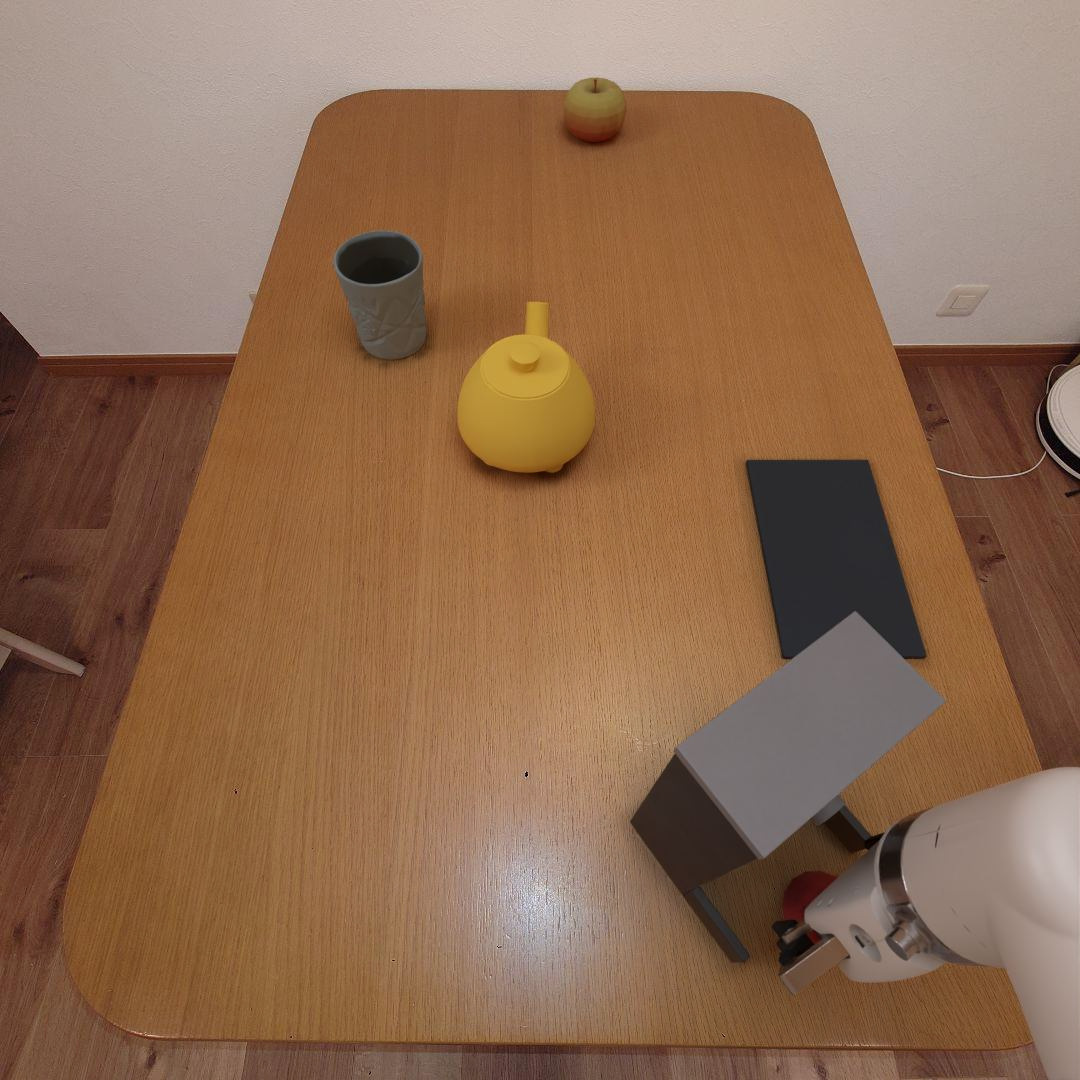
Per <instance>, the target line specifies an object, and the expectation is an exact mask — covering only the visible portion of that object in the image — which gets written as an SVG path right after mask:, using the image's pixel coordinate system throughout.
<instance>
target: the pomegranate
mask: <svg viewBox="0 0 1080 1080" xmlns="http://www.w3.org/2000/svg"><path fill="white" fill-rule="evenodd" d="M838 877H839V876H837V875H834V874H832V873H829V872H826V871H823V870H810V871H803V872H801V873H800V874H798V875H796V876H794V877H792V878H791V880H790V882H789V883H788V885H787V886H786V888H785V890H784V891H783V894H782V899H781V904H780V906H781V913H782V919H783V920H793V919H794V920H796V921H797V922H798V923H799V922H801V921H802V920H804V914H805V909H806V908H807V907H808V906H809V904H810V903H811V902H812V901H813V900H814V899H815V898H816V897H818V896H819V895H820V894H821V893H822V892H823V891H824V890H825V889H826V888H827V887H828V886H829V885H830V884H831V883H833V882H834V881H835V880H836V879H837V878H838ZM807 935H808V936H809V938H810V939H811V940H812V942H813V943H814V944H816V943H818V942H819V941H820V940H821V939H820V938H819V936H818V935H817V934H816V932H815V931H814V930H812V931H810V932H809V933H807Z"/></svg>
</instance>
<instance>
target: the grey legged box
mask: <svg viewBox="0 0 1080 1080" xmlns="http://www.w3.org/2000/svg"><path fill="white" fill-rule="evenodd" d="M946 703H947V700H946V699H945V697H943V696H942V694H941V693H939V692H938V690H936V689H935V688H934V687H933V686H932V684H931V683H930V682H928V681H927V680H926V678H924V677H923V676H922V675H921V673H919V672H918V671H917V670H916V669H915V668H914V667H913V666H912V665H911V664H910V663H909V662H908V661H907V659H906V658H903V657H902V656H901V655H900V654H899V653H898V652H897V651H896V650H895V649H894V648H893V647H892V646H891V645H890V644H889V643H888V642H887V641H885V640H884V639H883V638H882V637H881V636H880V635H879V634H878V633H877V632H876V631H875V630H874V629H873V628H872V627H871V626H870V625H869V624H868V623H867V622H866V621H865V620H864V619H863V618H862V617H861V616H860V615H859V614H858V613H857V612H856V611H855V612H853V613H852V614H851V615H849V616H848V617H847V618H845V619H844V620H843V621H841V622H840V623H839V624H837V625H836V626H835V627H833V628H832V629H831V630H829V631H828V632H827V633H826V634H824V635H823V636H822V637H820V638H819V639H818V640H816V641H815V642H814V643H812V644H811V645H810V646H808V647H807V648H806V649H804V650H803V651H802V652H800V653H799V654H798V655H796V656H795V657H794V658H793V659H789V660H788V662H786V663H784V664H783V665H782V666H781V667H779V668H778V669H777V670H775V671H773V673H771V674H770V675H769V676H768V677H766V678H765V679H763V680H762V681H761V682H759V683H758V684H757V685H755V686H754V687H753V688H752V689H751V690H749V691H748V692H746V693H745V694H743V695H742V696H741V697H740V698H738V699H737V700H736V701H734V702H733V703H731V704H730V705H729V706H728V707H727V708H725V709H724V710H723V711H721V712H720V713H718V714H717V715H716V716H715V717H713V718H712V719H711V720H709V721H707V723H706V724H704V725H703V726H701V727H700V728H698V729H697V730H696V731H694V732H693V733H692V734H691V735H690V736H688V737H687V738H686V739H684V740H683V741H682V742H680V743H678V745H676V747H675V748H674V749H673V753H674V754H673V756H672V757H671V759H670V760H669V761H668V763H667V764H666V765H665V767H664V769H663V770H662V771H661V773H660V775H659V777H658V778H657V780H656V781H655V782H654V783H653V785H652V787H651V789H650V790H649V791H648V793H647V794H646V796H645V798H644V799H643V800H642V802H641V804H640V805H639V807H638V809H637V810H636V812H635V813H634V815H633V816H632V817H631V819H630V820H629V824H630V825H631V826H632V827H633V829H634V830H635V832H636V833H637V835H638V836H639V837H640V839H641V840H642V841H643V843H644V844H645V846H646V847H647V848H648V850H649V851H650V853H651V854H652V855H653V856H654V858H655V860H656V861H657V862H658V863H659V865H660V866H661V868H662V869H663V870H664V872H665V873H666V875H667V876H668V878H669V879H670V880H671V882H672V883H673V884H674V886H675V887H676V888H677V890H678V892H679V893H680V894H681V895H682V897H683V898H684V899H685V901H686V902H687V904H688V905H689V907H690V908H691V909H692V911H693V912H694V913H695V915H696V916H697V917H698V919H699V920H700V921H701V923H702V925H703V926H704V927H705V929H706V930H707V931H708V933H709V934H710V936H711V937H712V938H713V940H714V941H715V943H716V944H717V945H718V947H719V948H720V950H721V951H722V952H723V954H724V955H725V957H726V958H727V959H728V960H729V962H730V963H731V964H732V963H733V964H735V963H736V964H737V963H740V964H741V963H743V964H744V963H746V962H747V961H748V960H749V959H750V958H751V954H750V952H749V951H748V950H747V948H746V947H745V946H744V944H743V943H742V941H741V939H739V938H738V936H737V935H736V933H735V932H734V931H733V929H732V928H731V926H730V925H729V923H727V921H726V920H725V919H724V917H723V915H722V914H721V913H720V912H719V910H718V909H717V908H716V906H715V905H714V903H713V902H712V901H711V900H710V898H709V896H708V895H707V893H705V891H704V890H703V889H702V887H701V886H703V885H705V884H707V883H709V882H711V881H713V880H716V879H718V878H720V877H722V876H724V875H727V874H729V873H731V872H732V871H735V870H736V869H739V868H741V867H743V866H745V865H748V864H749V863H751V862H754V861H756V860H759V861H762V860H764V859H766V858H767V857H768V856H769V855H770V854H771V853H773V852H774V851H775V850H776V849H777V848H778V847H779V846H781V845H782V844H783V843H785V841H787V840H788V839H789V838H790V837H792V836H793V835H794V834H795V833H796V832H798V830H800V829H801V828H802V827H803V826H804V825H806V823H807V822H808V821H810V820H811V822H812V823H813V824H814V825H815V826H816V827H819V826H821V825H822V824H824V823H825V824H826V825H827V826H828V828H829V829H830V830H831V831H832V832H833V833H834V834H835V836H836V837H837V838H838V839H839V840H840V842H841V843H842V844H843V845H844V846H845V847H846V849H847V850H848V851H849V852H850V853H851V854H855V853H858V852H861V851H864V850H867V849H866V848H865V846H864V844H865V843H864V841H866V840H867V839H868V838H869V837H871V836H873V835H872V834H871V833H870V832H869V831H868V830H867V828H866V827H865V826H864V825H863V824H862V823H861V821H859V819H858V818H857V817H856V816H855V815H854V814H853V812H852V811H851V810H850V809H849V808H848V807H847V806H846V801H845V800H844V799H843V797H841V795H840V794H841V793H842V792H843V791H845V790H846V789H847V788H848V787H849V786H850V785H852V784H853V783H854V782H855V781H856V780H857V779H859V778H860V777H861V776H862V775H863V774H864V773H865V772H867V771H868V770H870V768H872V766H874V765H875V764H876V763H877V762H878V761H879V760H881V759H882V758H883V757H884V756H885V755H886V754H888V753H889V752H890V751H891V750H892V749H893V748H895V747H896V746H897V745H898V744H900V742H902V741H903V740H904V739H905V738H906V737H908V735H910V734H911V733H912V732H914V731H915V729H917V728H918V727H919V726H920V725H921V724H922V723H924V722H925V721H926V720H927V719H928V718H930V717H931V716H932V715H933V714H935V712H936V711H938V710H939V709H941V707H942V706H943V705H944V704H946Z"/></svg>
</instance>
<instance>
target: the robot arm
mask: <svg viewBox="0 0 1080 1080" xmlns="http://www.w3.org/2000/svg"><path fill="white" fill-rule="evenodd" d="M864 843H865V844H864V846H865V848H866V849H865V850H867V851H866V852H864V853H863V854H862V855H861V856H860V857H858V858H857V859H855V861H854V862H853V863H852V864H850V865H849V867H847V868H846V869H845V870H844V871H843V872H842V873H840V875H839V876H837V877H838V878H837V879H836V880H835V881H834V882H833V883H831V884H830V885H829V886H828V887H827V888H826V889H825V890H824V891H823V892H822V893H821V894H820V895H819V896H818V897H816V898H815V899H814V900H813V901H812V902H811V903H810V904H809V906H808V907H807V908H806V909H805V914H804V920H802V921H801V922H799V923H798V922H797V921H796V920H794V919H793V920H782V919H781V920H776V921H774V922H773V923H772V924H771V925H770V927H771V929H772V931H773V932H774V933H775V934H776V936H777V937H778V940H777V941H776V942H775V945H776V947H777V948H778V951H780V952H779V956H778V958H777V962H778V963H779V965H780V967H779V968H778V973H777V976H778V977H779V979H780V980H781V982H782V983H783V985H784V986H785V988H786V989H787V990H788V992H789V993H790V994H791V996H794V995H797V994H799V993H800V992H801V991H802V990H803V989H805V988H806V987H808V986H809V985H811V984H812V983H813V982H815V981H816V980H817V979H818V978H820V977H822V975H823V976H824V974H825V973H827V972H828V971H830V970H831V969H832V968H834V967H835V966H836V965H838V968H839V970H840V971H841V972H842V973H843V974H844V975H845V977H846V978H847V979H849V980H850V981H852V982H857V983H866V984H868V983H869V984H870V983H872V984H873V983H874V984H875V983H877V984H878V983H891V982H900V981H905V980H910V979H914V978H916V977H920V976H923V975H927V974H929V973H931V972H934V971H936V970H938V969H939V968H941V967H942V966H944V965H945V964H949V965H952V966H953V965H954V966H964V967H983V968H985V967H986V968H1000V969H1005V971H1006V973H1007V975H1008V976H1007V977H1008V978H1009V981H1010V983H1011V985H1012V988H1013V991H1014V993H1015V995H1016V997H1017V1001H1018V1003H1019V1006H1020V1008H1021V1011H1022V1014H1023V1016H1024V1019H1025V1022H1026V1025H1027V1027H1028V1030H1029V1033H1030V1035H1031V1038H1032V1041H1033V1043H1034V1046H1035V1049H1036V1052H1037V1054H1038V1057H1039V1059H1040V1062H1041V1065H1042V1068H1043V1070H1044V1072H1045V1076H1046V1079H1047V1080H1080V766H1061V767H1060V766H1059V767H1058V766H1057V767H1053V768H1048V769H1044V770H1041V771H1037V772H1034V773H1029V774H1027V775H1023V776H1020V777H1018V778H1015V779H1012V780H1009V781H1006V782H1003V783H1000V784H997V785H994V786H991V787H988V788H985V789H982V790H979V791H976V792H972V793H970V794H967V795H964V796H961V797H958V798H955V799H952V800H949V801H946V802H943V803H940V804H938V805H933V806H931V807H928V808H924V809H922V810H919V811H915V812H913V813H910V814H907V815H905V816H902V817H901V818H899V819H897V820H895V821H894V822H893V823H892V824H891V825H889V827H887V829H886V830H885V831H884V832H881V833H878V834H875V835H872V836H871V837H869V838H868V839H867V840H866V841H864ZM812 930H814V931H815V932H816V934H817V935H818V936H819V938H820V939H821V940H820V941H819V942H818V943H816V944H814V943H813V942H812V940H811V939H810V938H809V936H808V935H807V933H809V932H810V931H812Z"/></svg>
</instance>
